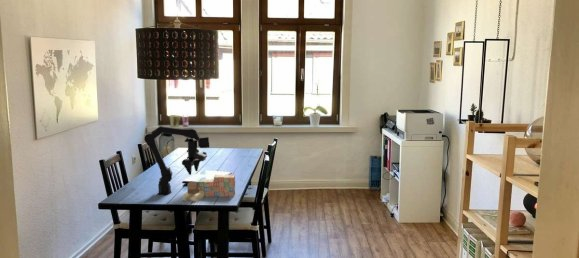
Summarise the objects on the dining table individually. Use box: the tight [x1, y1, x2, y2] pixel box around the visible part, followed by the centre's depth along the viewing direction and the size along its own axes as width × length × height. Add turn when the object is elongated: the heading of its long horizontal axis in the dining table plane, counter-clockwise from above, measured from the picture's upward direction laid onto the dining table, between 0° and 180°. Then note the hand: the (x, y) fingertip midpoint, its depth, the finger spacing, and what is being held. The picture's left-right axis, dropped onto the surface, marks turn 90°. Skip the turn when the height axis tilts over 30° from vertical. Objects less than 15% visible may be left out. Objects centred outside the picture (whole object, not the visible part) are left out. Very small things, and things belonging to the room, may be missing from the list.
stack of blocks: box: [198, 174, 236, 198], centre depth 277 cm, size 21×6×12 cm, turn 90°
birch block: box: [182, 191, 205, 202], centre depth 271 cm, size 9×9×4 cm
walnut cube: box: [187, 181, 199, 194], centre depth 270 cm, size 5×5×6 cm
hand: (193, 172), depth 283 cm, fingers open, 9 cm apart
